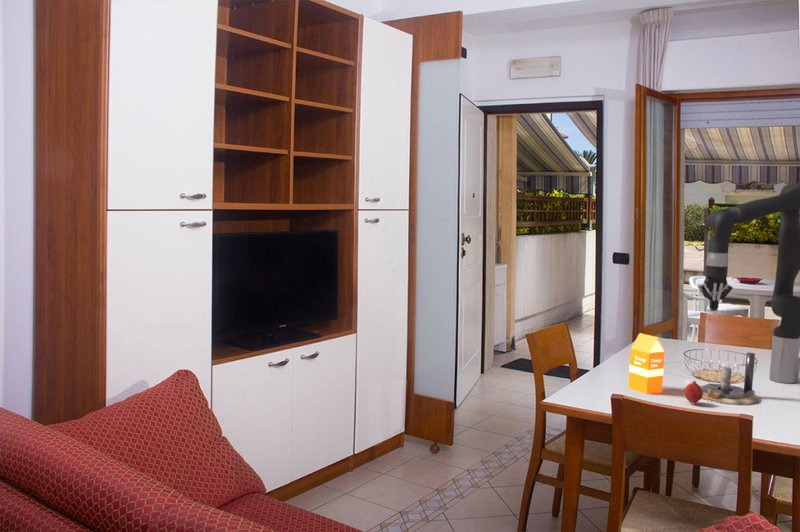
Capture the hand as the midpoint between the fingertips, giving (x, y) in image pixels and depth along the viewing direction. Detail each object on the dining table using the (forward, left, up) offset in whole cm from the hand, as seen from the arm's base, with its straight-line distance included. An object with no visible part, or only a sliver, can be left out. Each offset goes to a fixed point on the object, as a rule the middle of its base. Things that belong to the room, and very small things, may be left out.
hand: (713, 310), depth 270 cm
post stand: (+6, +21, -27) cm, 35 cm away
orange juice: (+31, +13, -27) cm, 43 cm away
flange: (+6, +22, -26) cm, 34 cm away
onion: (+22, +30, -27) cm, 46 cm away
